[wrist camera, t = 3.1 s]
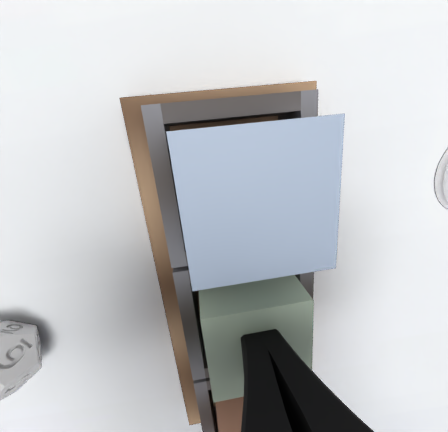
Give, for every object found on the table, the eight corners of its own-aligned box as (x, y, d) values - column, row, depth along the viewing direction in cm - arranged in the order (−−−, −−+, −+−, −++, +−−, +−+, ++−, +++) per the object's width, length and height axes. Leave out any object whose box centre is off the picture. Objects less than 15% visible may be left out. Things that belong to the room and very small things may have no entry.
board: (301, 382, 18) (327, 439, 14) (189, 405, 17) (189, 471, 13) (303, 86, 11) (350, 66, 8) (126, 101, 11) (98, 86, 7)
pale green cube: (281, 320, 13) (311, 382, 10) (207, 334, 13) (213, 402, 10) (279, 254, 12) (313, 300, 9) (197, 267, 12) (200, 319, 8)
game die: (61, 315, 13) (27, 363, 11) (49, 366, 14) (15, 422, 12) (-12, 301, 13) (-70, 348, 10) (-20, 356, 14) (-75, 413, 11)
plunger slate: (288, 224, 10) (335, 268, 7) (191, 238, 10) (192, 291, 6) (286, 121, 9) (344, 113, 6) (175, 133, 8) (166, 131, 5)
